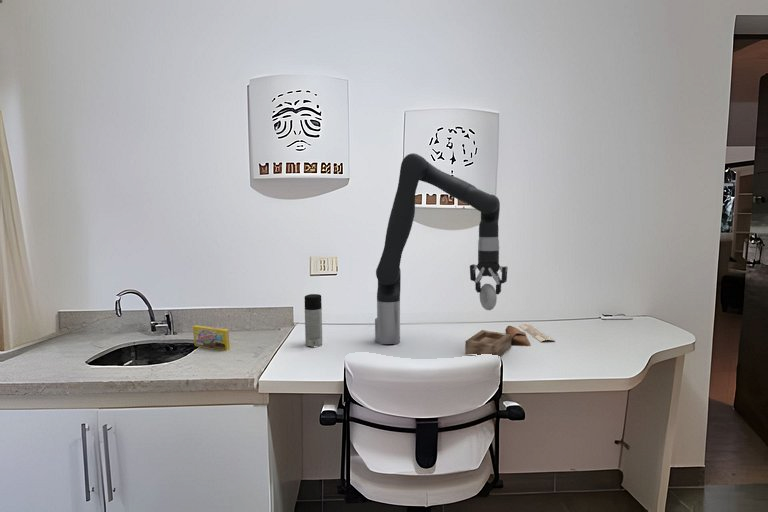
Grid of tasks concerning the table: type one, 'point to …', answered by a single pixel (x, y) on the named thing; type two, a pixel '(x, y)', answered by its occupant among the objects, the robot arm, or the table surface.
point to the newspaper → (535, 332)
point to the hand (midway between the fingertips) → (488, 293)
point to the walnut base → (488, 343)
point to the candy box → (211, 337)
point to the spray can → (313, 320)
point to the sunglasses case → (517, 337)
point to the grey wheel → (488, 296)
